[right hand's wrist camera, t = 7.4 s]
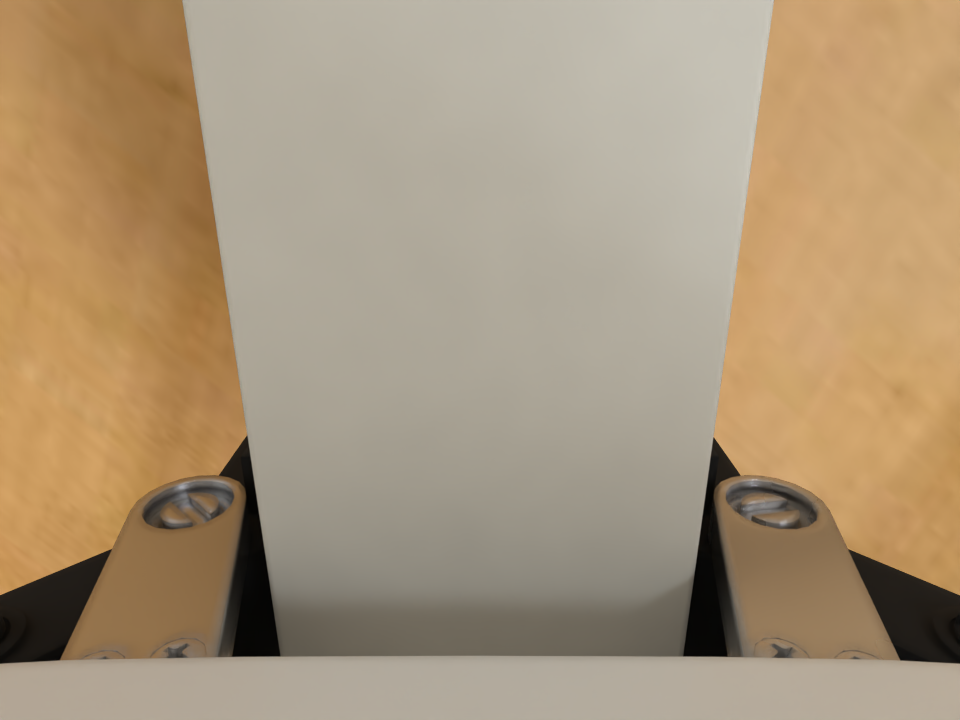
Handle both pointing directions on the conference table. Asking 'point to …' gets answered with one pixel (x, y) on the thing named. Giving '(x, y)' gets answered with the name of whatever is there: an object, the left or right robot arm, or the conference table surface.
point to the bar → (479, 307)
